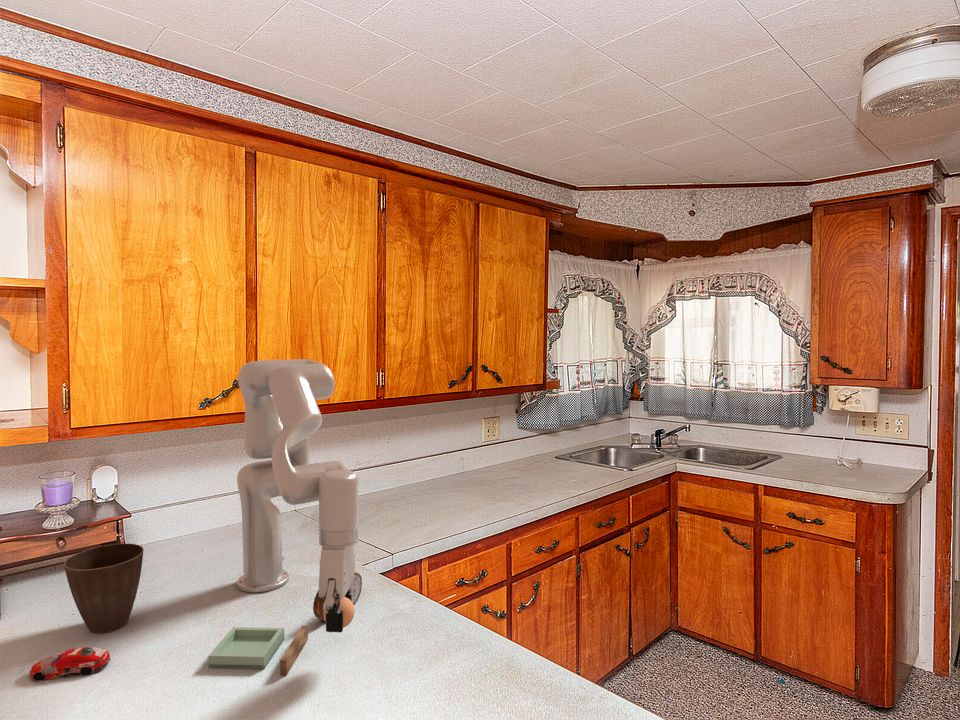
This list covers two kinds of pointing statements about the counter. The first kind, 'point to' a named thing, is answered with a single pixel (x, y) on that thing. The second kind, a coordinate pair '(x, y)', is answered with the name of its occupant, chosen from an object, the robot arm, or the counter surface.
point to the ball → (345, 611)
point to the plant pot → (105, 584)
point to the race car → (71, 663)
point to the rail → (293, 651)
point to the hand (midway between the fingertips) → (339, 621)
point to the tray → (246, 648)
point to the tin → (320, 602)
